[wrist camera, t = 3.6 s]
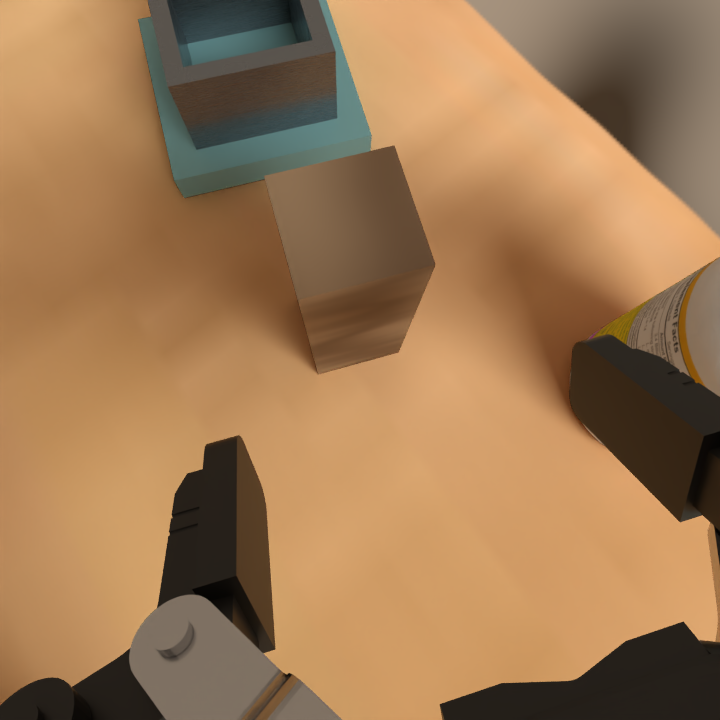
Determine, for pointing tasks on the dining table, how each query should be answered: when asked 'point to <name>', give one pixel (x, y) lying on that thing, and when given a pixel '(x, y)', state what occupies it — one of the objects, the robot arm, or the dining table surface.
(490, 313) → the dining table surface
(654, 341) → the supplement bottle
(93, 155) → the dining table surface
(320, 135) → the plate
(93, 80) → the dining table surface
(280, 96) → the square socket frame
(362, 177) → the rail post
